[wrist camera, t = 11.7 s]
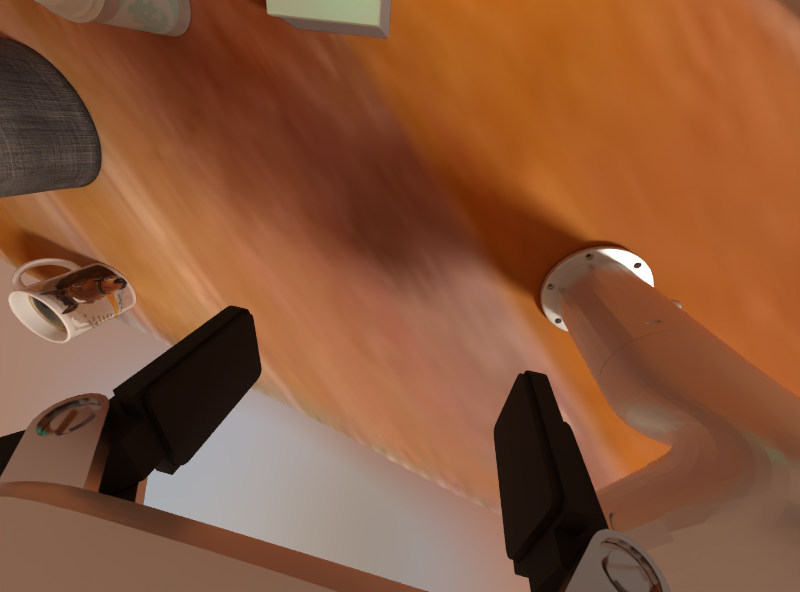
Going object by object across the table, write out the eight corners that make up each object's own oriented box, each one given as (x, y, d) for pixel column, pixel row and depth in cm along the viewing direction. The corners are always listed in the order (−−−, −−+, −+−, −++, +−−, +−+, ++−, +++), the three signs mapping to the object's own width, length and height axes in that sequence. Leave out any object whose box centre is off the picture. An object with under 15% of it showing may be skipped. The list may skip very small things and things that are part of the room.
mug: (100, 305, 58) (29, 338, 48) (68, 248, 52) (-21, 273, 42) (145, 311, 56) (80, 347, 47) (117, 253, 50) (36, 281, 41)
